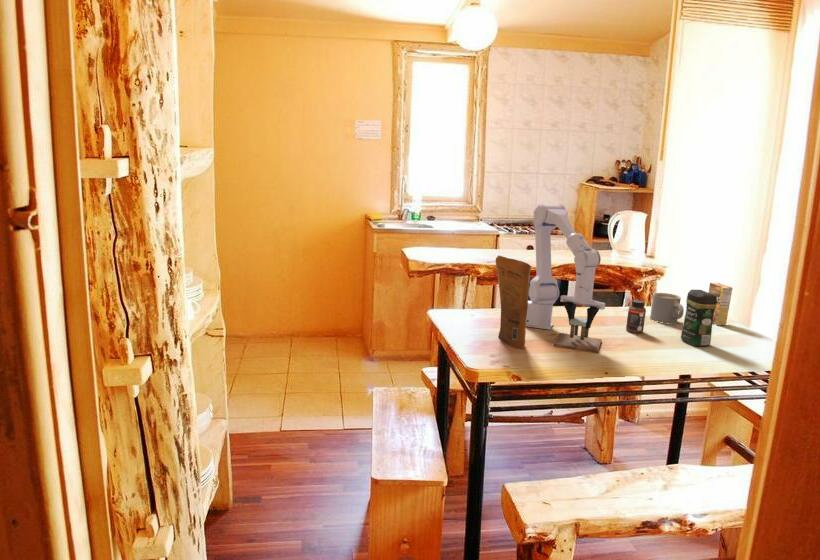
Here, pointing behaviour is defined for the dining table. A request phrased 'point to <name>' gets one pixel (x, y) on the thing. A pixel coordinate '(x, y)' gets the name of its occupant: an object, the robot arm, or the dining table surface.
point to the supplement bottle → (636, 317)
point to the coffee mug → (666, 308)
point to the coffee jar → (698, 318)
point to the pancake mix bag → (513, 299)
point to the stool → (575, 323)
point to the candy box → (721, 302)
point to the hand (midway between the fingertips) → (579, 326)
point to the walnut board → (577, 343)
